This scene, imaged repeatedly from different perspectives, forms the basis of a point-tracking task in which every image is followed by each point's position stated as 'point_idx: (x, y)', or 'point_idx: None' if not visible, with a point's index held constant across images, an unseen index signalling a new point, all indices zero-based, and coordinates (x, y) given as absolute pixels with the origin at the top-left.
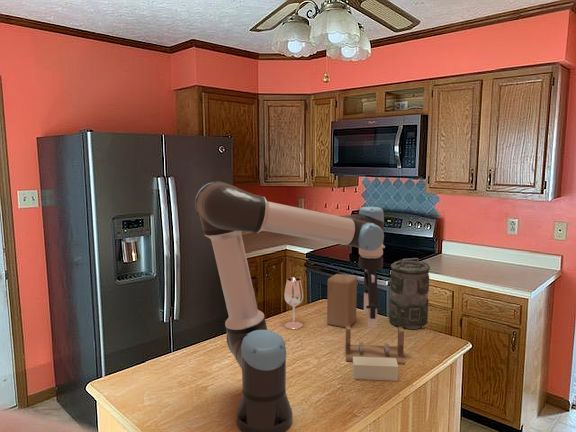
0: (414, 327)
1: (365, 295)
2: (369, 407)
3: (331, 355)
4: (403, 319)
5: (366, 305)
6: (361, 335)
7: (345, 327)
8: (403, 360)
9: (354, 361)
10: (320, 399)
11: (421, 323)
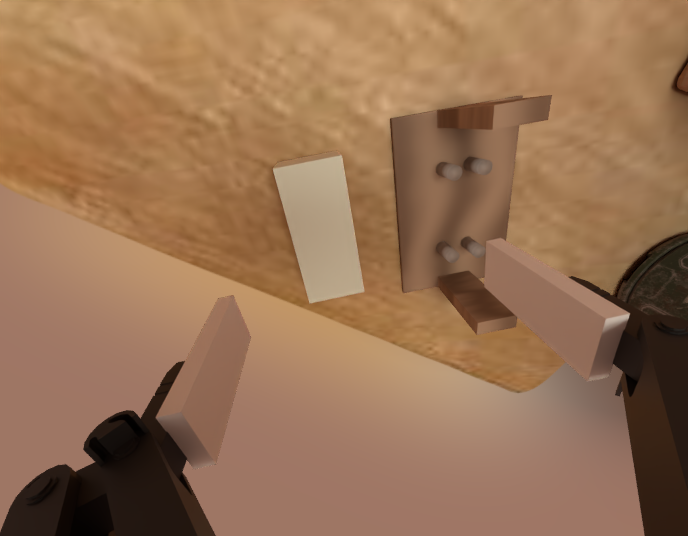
0: None
1: (584, 318)
2: (135, 227)
3: (433, 46)
4: (655, 286)
5: (514, 277)
6: (600, 149)
7: (682, 72)
8: (417, 288)
9: (301, 167)
10: (86, 59)
11: None
